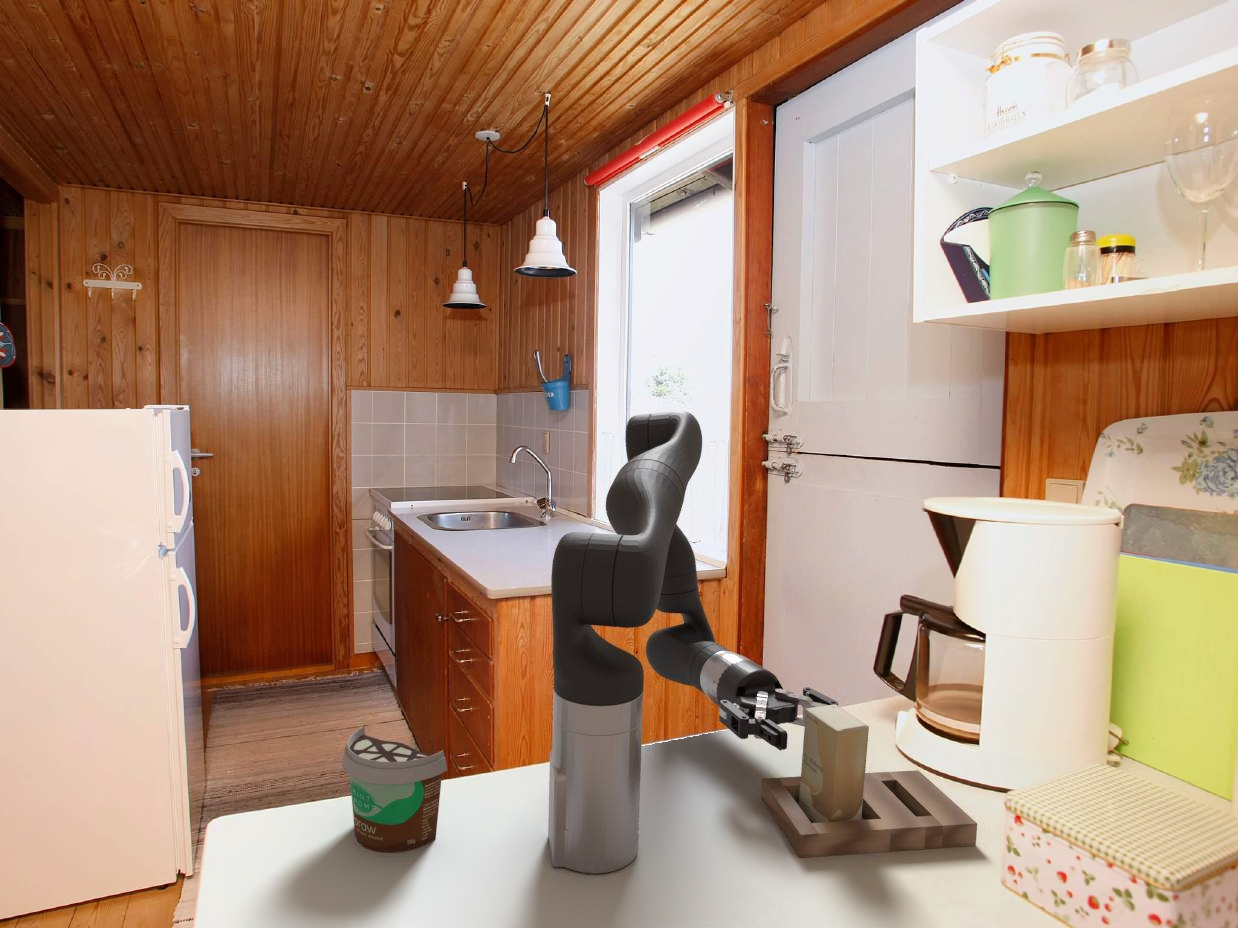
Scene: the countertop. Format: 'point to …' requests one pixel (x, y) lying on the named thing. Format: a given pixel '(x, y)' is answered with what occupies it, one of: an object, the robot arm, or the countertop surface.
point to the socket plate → (874, 817)
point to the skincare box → (833, 765)
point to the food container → (393, 793)
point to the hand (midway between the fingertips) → (815, 736)
